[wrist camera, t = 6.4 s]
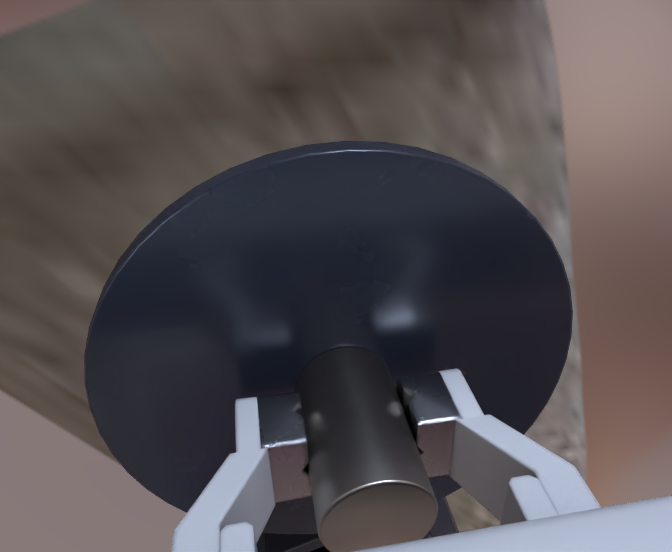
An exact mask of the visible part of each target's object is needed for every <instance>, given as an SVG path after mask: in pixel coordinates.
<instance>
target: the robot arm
mask: <svg viewBox="0 0 672 552" xmlns="http://www.w3.org/2000/svg"><path fill="white" fill-rule="evenodd" d="M396 391H397V393H398V396H399V399H400V402H401V405H402V407H403V410H404V413H405V415H406V418H407V421H408V424H409V426H410V429H411V432H412V434H413V437H414V440H415V443H416V445H417V448H418V451H419V453H420V456H421V459H422V462H423V464H424V467H425V470H426V473H427V475H428V477H434V476H442V475H449V474H450V477H451V478H452V479H453V480H455V481H456V482H457V483H458V484H459V485H460V486H461V487H462V488H464V489H465V490H466V491H467V492H468V493H469V494H470V495H471V496H473V497H474V498H475V499H476V500H477V501H478V502H479V503H480V504H482V505H483V506H484V507H485V508H486V509H487V510H488V511H489V512H491V513H492V514H493V515H494V516H495V517H496V518H497V519H498V520H500V521H501V524H500V525H499V526H494V527H488V528H482V529H477V530H471V531H465V532H460V533H454V534H448V535H443V536H437V537H431V538H426V539H420V540H414V541H409V542H403V543H397V544H391V545H386V546H380V547H374V548H369V549H363V550H357V551H352V552H672V495H670V496H665V497H659V498H653V499H647V500H642V501H636V502H630V503H625V504H620V505H613V506H608V507H602V508H601V507H600V505H599V503H598V502H597V500H596V499H595V497H594V496H593V494H592V492H591V491H590V489H589V488H588V486H587V485H586V483H585V481H584V480H583V478H582V477H581V475H580V474H579V472H578V471H577V469H576V467H575V466H574V465H572V464H570V463H569V462H567V461H565V460H564V459H562V458H561V457H559V456H557V455H556V454H554V453H552V452H551V451H549V450H547V449H546V448H544V447H543V446H541V445H539V444H538V443H536V442H534V441H533V440H531V439H529V438H528V437H526V436H524V435H523V434H521V433H520V432H518V431H516V430H515V429H513V428H511V427H510V426H508V425H506V424H505V423H503V422H502V421H500V420H498V419H497V418H495V417H493V416H492V415H484V414H483V412H482V410H481V408H480V406H479V404H478V403H477V401H476V399H475V397H474V395H473V393H472V391H471V389H470V388H469V386H468V384H467V382H466V380H465V378H464V376H463V375H462V373H461V371H460V370H459V369H457V368H456V369H450V370H443V371H438V372H431V373H424V374H418V375H411V376H404V377H398V378H397V383H396ZM235 432H236V453H231V454H229V455H228V457H227V458H226V460H225V461H224V462H223V464H222V465H221V466H220V468H219V469H218V471H217V472H216V473H215V475H214V476H213V478H212V479H211V480H210V482H209V483H208V485H207V486H206V487H205V489H204V490H203V491H202V493H201V494H200V496H199V497H198V498H197V500H196V501H195V503H194V504H193V505H192V507H191V508H190V509H189V511H188V512H187V514H186V515H185V516H184V518H183V519H182V521H181V522H180V523H179V525H178V526H177V528H176V529H175V530H174V532H173V544H172V552H258V551H257V545H256V544H257V542H258V540H259V538H260V536H261V534H262V532H263V530H264V528H265V525H266V523H267V521H268V519H269V517H270V515H271V513H272V511H273V509H274V507H275V505H276V504H275V503H277V502H282V501H287V500H292V499H298V498H303V497H308V496H311V486H310V479H309V473H308V466H307V464H308V463H309V458H308V448H307V439H306V432H305V425H304V418H303V417H302V408H301V400H300V394H299V391H298V392H289V393H281V394H272V395H263V396H258V398H257V397H250V398H241V399H236V401H235Z"/></svg>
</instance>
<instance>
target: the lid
mask: <svg viewBox="0 0 672 552" xmlns="http://www.w3.org/2000/svg"><path fill="white" fill-rule="evenodd" d="M572 316H573V310H572V301H571V291H570V285H569V282H568V278H567V275H566V271H565V268H564V264H563V261H562V259H561V257H560V255H559V253H558V251H557V249H556V247H555V245H554V243H553V241H552V239H551V238H550V236H549V235H548V234H547V232H546V231H545V229H544V228H543V227H542V225H541V224H540V223H539V221H538V220H537V219H536V217H535V216H534V215H533V214H532V213H531V212H530V211H529V210H528V209H526V208H525V207H524V206H523V205H522V204H521V203H520V202H519V201H518V200H517V199H516V198H515V197H514V196H513V195H512V194H511V193H510V192H509V191H508V190H507V189H505V188H504V187H502V186H501V185H500V184H498V183H497V182H495V181H494V180H492V179H491V178H489V177H488V176H486V175H485V174H483V173H482V172H480V171H478V170H476V169H474V168H472V167H470V166H468V165H466V164H464V163H462V162H459V161H457V160H455V159H453V158H451V157H448V156H444V155H441V154H438V153H434V152H431V151H428V150H425V149H421V148H418V147H411V146H405V145H399V144H392V143H386V142H364V141H340V142H331V143H322V144H312V145H304V146H300V147H296V148H292V149H288V150H283V151H279V152H275V153H271V154H267V155H264V156H261V157H259V158H256V159H253V160H251V161H248V162H245V163H243V164H240V165H237V166H235V167H232V168H230V169H228V170H226V171H224V172H222V173H220V174H218V175H217V176H215V177H213V178H211V179H209V180H207V181H205V182H203V183H201V184H200V185H198V186H196V187H194V188H193V189H192V190H190V191H189V192H187V193H186V194H185V195H183V196H182V197H181V198H179V199H178V200H176V201H175V202H174V203H172V204H171V205H169V206H168V207H167V208H165V209H164V210H163V211H162V212H161V213H160V214H159V215H158V216H157V217H156V218H155V219H154V220H153V221H152V222H151V223H149V224H148V225H147V226H146V227H145V228H144V229H143V230H142V231H141V232H140V233H139V234H138V236H137V237H136V238H135V239H134V241H133V242H132V243H131V244H130V246H129V247H128V248H127V250H126V251H125V252H124V253H123V255H122V256H121V257H120V259H119V260H118V262H117V263H116V265H115V267H114V269H113V271H112V272H111V274H110V276H109V278H108V280H107V281H106V283H105V285H104V287H103V289H102V292H101V295H100V298H99V301H98V303H97V306H96V309H95V312H94V314H93V317H92V320H91V323H90V327H89V332H88V337H87V343H86V349H85V355H84V365H85V387H86V392H87V397H88V402H89V407H90V410H91V413H92V415H93V418H94V420H95V423H96V426H97V428H98V431H99V433H100V435H101V436H102V438H103V440H104V441H105V443H106V445H107V446H108V448H109V450H110V451H111V453H112V454H113V456H114V457H115V458H116V459H117V460H118V462H119V463H120V464H121V465H122V466H123V467H124V469H125V470H126V471H127V472H128V473H129V474H130V475H131V476H132V477H133V478H135V479H136V480H137V481H138V482H139V483H140V484H141V485H143V486H144V487H145V488H146V489H147V490H149V491H151V492H152V493H153V494H155V495H156V496H158V497H159V498H161V499H162V500H164V501H165V502H167V503H169V504H171V505H173V506H175V507H177V508H179V509H181V510H183V511H185V512H188V511H189V509H190V508H191V507H192V505H193V504H194V503H195V501H196V500H197V498H198V497H199V496H200V494H201V493H202V491H203V490H204V489H205V487H206V486H207V485H208V483H209V482H210V480H211V479H212V478H213V476H214V475H215V473H216V472H217V471H218V469H219V468H220V466H221V465H222V464H223V462H224V461H225V460H226V458H227V457H228V455H229V454H231V453H236V432H235V401H236V399H241V398H250V397H257V398H258V396H263V395H272V394H281V393H289V392H298V391H299V394H300V400H301V408H302V417H303V418H304V425H305V432H306V439H307V448H308V458H309V463H308V464H307V466H308V473H309V479H310V486H311V496H308V497H303V498H298V499H292V500H287V501H282V502H277V503H275V504H276V505H275V507H274V509H273V511H272V513H271V515H270V517H269V519H268V521H267V523H266V525H265V528H264V530H263V532H262V533H273V534H318V536H319V539H320V540H321V542H322V544H323V545H324V546H325V547H326V548H327V549H328V550H329V551H330V552H352V551H357V550H363V549H369V548H374V547H380V546H386V545H391V544H397V543H403V542H409V541H414V540H420V539H422V538H423V537H424V536H425V535H427V533H428V532H429V531H430V530H431V528H432V527H433V525H434V523H435V521H436V519H437V515H438V503H437V501H438V500H440V499H441V498H443V497H445V496H447V495H449V494H451V493H452V492H454V491H456V490H458V489H460V488H461V486H460V485H459V484H458V483H457V482H456V481H455V480H453V479H452V478H451V477H450V474H449V475H442V476H434V477H428V475H427V473H426V470H425V467H424V464H423V462H422V459H421V456H420V453H419V451H418V448H417V445H416V443H415V440H414V437H413V434H412V432H411V429H410V426H409V424H408V421H407V418H406V415H405V413H404V410H403V407H402V405H401V402H400V399H399V396H398V393H397V391H396V383H397V378H398V377H404V376H411V375H418V374H424V373H431V372H438V371H443V370H450V369H456V368H457V369H459V370H460V371H461V373H462V375H463V376H464V378H465V380H466V382H467V384H468V386H469V388H470V389H471V391H472V393H473V395H474V397H475V399H476V401H477V403H478V404H479V406H480V408H481V410H482V412H483V414H484V415H492V416H493V417H495V418H497V419H498V420H500V421H502V422H503V423H505V424H506V425H508V426H510V427H511V428H513V429H515V430H516V431H518V432H520V433H521V434H523V435H524V434H525V433H526V432H527V430H528V429H529V428H530V427H531V426H532V425H533V423H534V422H535V420H536V419H537V417H538V416H539V414H540V413H541V412H542V410H543V409H544V407H545V406H546V404H547V402H548V401H549V399H550V397H551V395H552V393H553V391H554V389H555V387H556V385H557V383H558V381H559V378H560V376H561V373H562V370H563V367H564V365H565V362H566V359H567V354H568V350H569V345H570V340H571V333H572Z"/></svg>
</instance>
